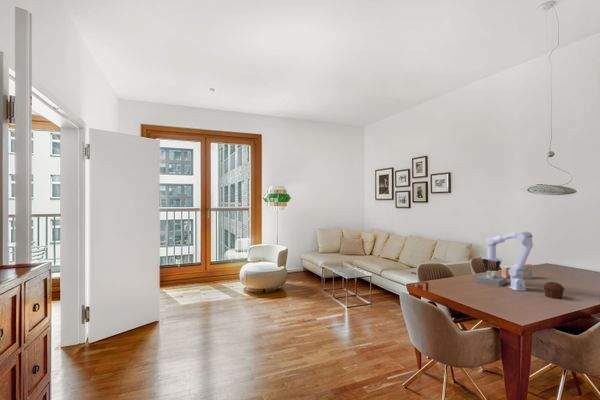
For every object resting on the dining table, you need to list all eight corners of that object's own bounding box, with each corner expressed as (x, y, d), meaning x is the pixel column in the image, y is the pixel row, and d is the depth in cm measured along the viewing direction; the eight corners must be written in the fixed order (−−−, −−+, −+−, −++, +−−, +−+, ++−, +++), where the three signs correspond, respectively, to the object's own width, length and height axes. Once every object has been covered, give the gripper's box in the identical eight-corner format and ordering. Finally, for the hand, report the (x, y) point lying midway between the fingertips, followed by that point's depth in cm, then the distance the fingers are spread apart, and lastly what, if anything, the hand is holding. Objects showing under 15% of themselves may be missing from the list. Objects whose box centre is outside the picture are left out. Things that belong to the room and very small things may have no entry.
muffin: (566, 300, 201) (566, 285, 201) (545, 298, 207) (545, 283, 207) (561, 295, 211) (561, 281, 211) (541, 293, 217) (541, 279, 217)
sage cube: (496, 277, 245) (496, 271, 245) (493, 278, 242) (493, 272, 242) (489, 276, 249) (489, 270, 249) (486, 277, 246) (486, 271, 246)
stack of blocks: (505, 278, 258) (505, 264, 258) (501, 276, 265) (501, 262, 264) (531, 278, 257) (531, 264, 257) (526, 276, 264) (526, 262, 263)
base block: (506, 282, 244) (506, 277, 244) (499, 286, 234) (498, 281, 234) (484, 278, 257) (484, 274, 257) (476, 282, 247) (476, 277, 247)
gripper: (503, 253, 243) (503, 270, 243) (483, 251, 254) (483, 267, 254) (500, 254, 238) (500, 271, 238) (480, 252, 250) (480, 268, 250)
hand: (491, 269), depth 246 cm, fingers open, 7 cm apart
